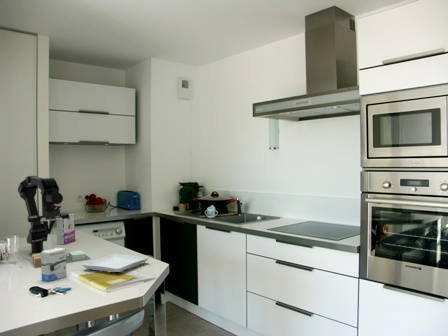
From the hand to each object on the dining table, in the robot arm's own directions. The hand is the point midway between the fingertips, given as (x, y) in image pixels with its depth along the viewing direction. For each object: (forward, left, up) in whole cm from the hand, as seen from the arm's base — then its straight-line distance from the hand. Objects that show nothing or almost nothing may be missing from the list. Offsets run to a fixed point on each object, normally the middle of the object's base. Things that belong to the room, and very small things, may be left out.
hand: (49, 234), depth 192 cm
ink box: (+39, -4, -12) cm, 41 cm away
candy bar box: (-34, +14, -12) cm, 39 cm away
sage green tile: (+10, +11, -9) cm, 17 cm away
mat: (+9, +10, -12) cm, 18 cm away
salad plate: (+38, +22, -13) cm, 46 cm away
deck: (+10, -2, -12) cm, 16 cm away
